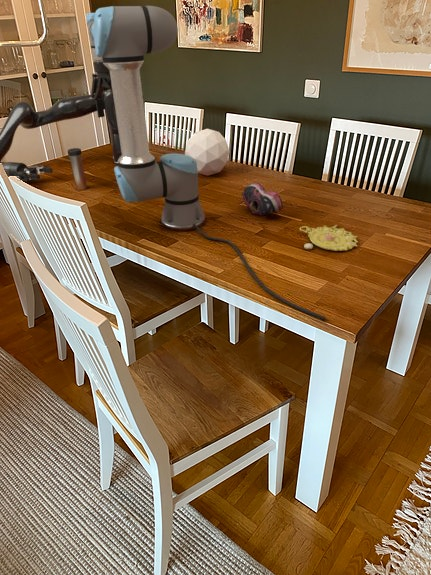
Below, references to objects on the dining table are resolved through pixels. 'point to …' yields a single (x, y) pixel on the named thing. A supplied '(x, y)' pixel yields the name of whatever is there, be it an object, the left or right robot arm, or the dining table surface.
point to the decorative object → (330, 238)
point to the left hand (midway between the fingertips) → (45, 173)
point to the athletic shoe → (261, 200)
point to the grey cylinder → (78, 172)
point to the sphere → (208, 151)
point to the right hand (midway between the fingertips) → (111, 119)
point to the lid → (74, 152)
